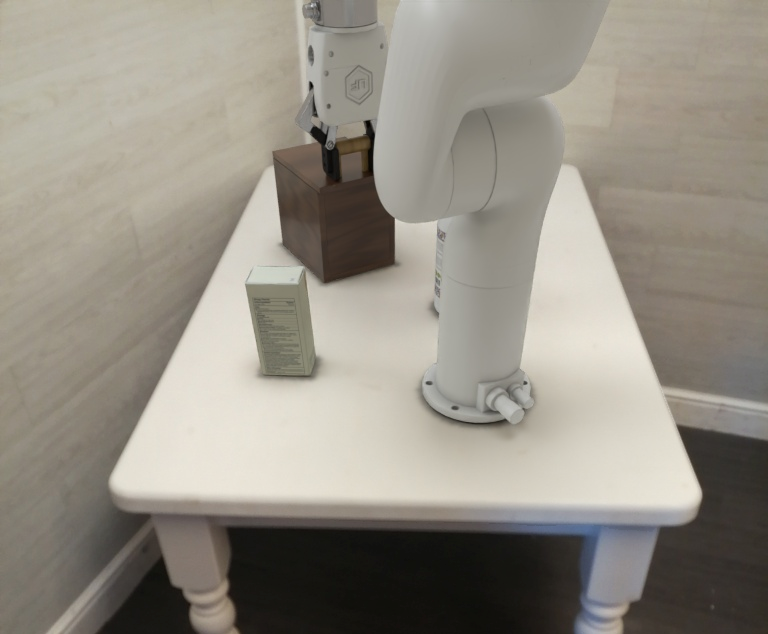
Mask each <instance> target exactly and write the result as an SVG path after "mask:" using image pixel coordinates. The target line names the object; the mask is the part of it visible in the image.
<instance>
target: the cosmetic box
mask: <svg viewBox="0 0 768 634" xmlns="http://www.w3.org/2000/svg"><path fill="white" fill-rule="evenodd" d="M244 287H245V292H246V297H247V303H248V307H249V312H250V318H251V323H252V328H253V334H254V340H255V345H256V350H257V355H258V360H259V365H260V371H261V374H262V375H264V376H265V375H266V376H267V375H268V376H307V377H309V376H311V374H312V372H313V369H314V366H315V363H316V358H317V354H316V346H315V339H314V331H313V323H312V314H311V306H310V298H309V297H310V296H309V290H308V282H307V274H306V266H305V265H304V266H301V265H299V266H298V265H253V266H252V268H251V270H250V272H249V273H248V275H247V277H246V279H245V280H244Z"/></svg>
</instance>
